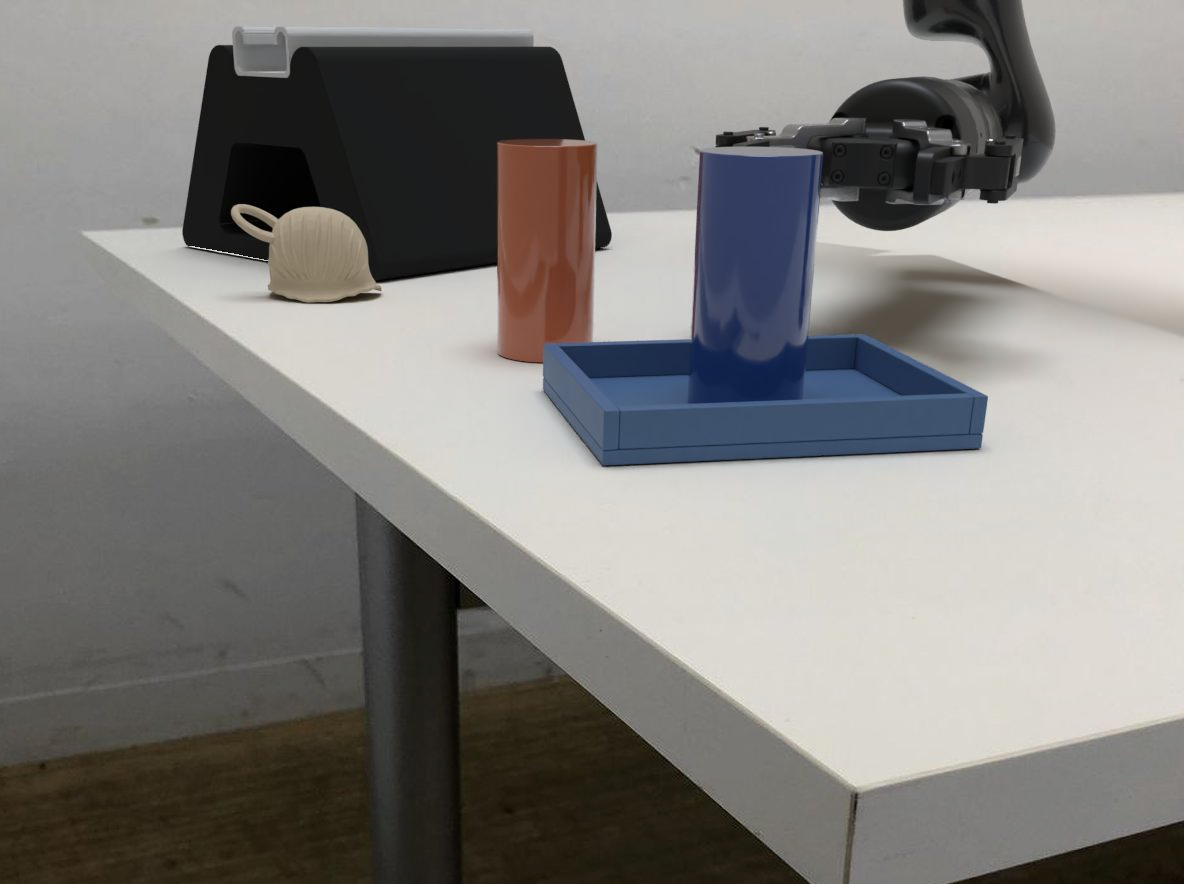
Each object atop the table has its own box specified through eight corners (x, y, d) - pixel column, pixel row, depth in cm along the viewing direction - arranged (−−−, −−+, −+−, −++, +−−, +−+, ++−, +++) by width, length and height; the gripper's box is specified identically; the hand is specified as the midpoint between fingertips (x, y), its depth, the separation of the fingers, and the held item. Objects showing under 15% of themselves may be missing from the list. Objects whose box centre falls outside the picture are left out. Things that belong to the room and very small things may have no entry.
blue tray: (860, 378, 65) (865, 333, 65) (981, 448, 54) (989, 395, 54) (542, 389, 63) (543, 343, 62) (602, 466, 52) (604, 410, 51)
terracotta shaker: (581, 341, 73) (585, 138, 69) (602, 361, 68) (607, 146, 64) (491, 344, 72) (489, 139, 68) (505, 364, 68) (505, 146, 64)
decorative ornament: (370, 304, 82) (367, 210, 80) (232, 300, 83) (225, 207, 81) (384, 292, 86) (381, 202, 84) (252, 289, 87) (245, 199, 84)
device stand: (611, 248, 104) (617, 29, 98) (380, 282, 89) (370, 27, 83) (411, 221, 118) (406, 28, 112) (183, 246, 103) (163, 26, 97)
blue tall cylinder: (780, 387, 61) (798, 146, 57) (819, 414, 57) (842, 155, 53) (674, 391, 60) (685, 146, 56) (705, 419, 56) (720, 156, 52)
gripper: (787, 74, 77) (681, 81, 64) (1056, 79, 71) (1002, 87, 58) (777, 215, 80) (674, 250, 67) (1034, 230, 74) (978, 271, 61)
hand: (827, 174), depth 62 cm, fingers open, 8 cm apart
